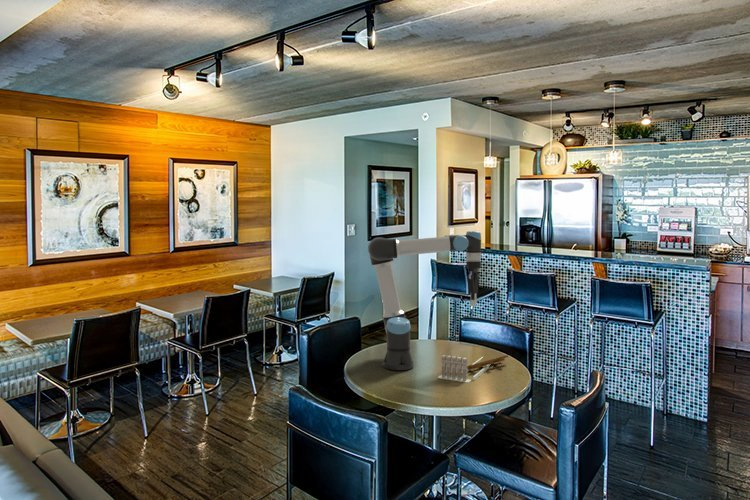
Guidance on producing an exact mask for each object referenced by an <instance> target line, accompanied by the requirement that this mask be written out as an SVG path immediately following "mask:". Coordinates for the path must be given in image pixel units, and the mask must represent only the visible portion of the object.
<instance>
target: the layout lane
mask: <svg viewBox="0 0 750 500" xmlns="http://www.w3.org/2000/svg"><path fill="white" fill-rule="evenodd" d="M483 357H484V356H481V357H480V358H478V360H476V361H475V362H472V364H471V365H473V364H477V363H480V362H481V361H482V360H483V359H484V358H483ZM482 358H483V359H482ZM481 359H482V360H481ZM490 365H491V364H489V365H485V366H483V368H482V369H480V370H479V371H478V372H477V373H475V374H474V375H473V376H472V381H475V380H477V379H478V378H479V377H481V376H482V374H484V373H485V372H486V371H487V370H488V369H489V368H490V367H491V366H492V365H491V366H490ZM489 366H490V367H489ZM470 371H471V370H469V368H467V373H469V372H470Z"/></svg>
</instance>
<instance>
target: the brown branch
mask: <svg viewBox="0 0 750 500" xmlns="http://www.w3.org/2000/svg"><path fill="white" fill-rule="evenodd" d="M507 358H509V355H508V354H507V355H504V356H499V357H496V358H492V359H489V360H484V361H479V362H478V363H477V364H473V363H472V364H473V365H472V364H470V365H467V368H469V370H470V371H471V370H475V369H478V368H481V367H485V366H486V365H489V364H492V365H493V364H495V363H498V362H499V363H500V362H504V361H505V360H506V359H507Z"/></svg>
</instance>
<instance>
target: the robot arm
mask: <svg viewBox="0 0 750 500" xmlns="http://www.w3.org/2000/svg"><path fill="white" fill-rule="evenodd" d="M465 250H466V253H465V255H466V256H465V257H466V258H465V259H466V264H465V265H466V266H465V267H466V269H469V272H468V274H467V279H468V280H467V281H468V294H470V306H471V307H477V294H478V293H479V281H480V280H479V279H480V273H479V271H478V270H479V269H482V261H481V259H482V256H483V255H482V233H481V232H480V231H477V230H475V231H471V230H470V231H466V234H456V235H455V234H447V235H444V236H438V237H426V238H414V239H413V238H412V239H403V240H398V238H385V237H381V236H379V237H375V238H373V239H371V240H370V242H369V243H368V246H367V251H368V253H369V259H370V263H371V267H373V268H375V273H376V278H377V283H378V287H379V292H380V296H381V301H382V305H383V310H384V314H383V315H382V319H383V324H384V331H385V334H386V351H385V355H384V358H383V362H382V364H383V366H382V367H383V368H385V369H387V370H391V371H392V370H393V371H406V370H411V369H413V368H414V365H415V363H414V361H415V360H414V359H413V356H412V351H411V321H410V320H409V319H407V317H406V312H405V311H404V310H403V309H402V308H401V304H400V299H399V294H398V289H397V284H396V280H395V276H394V270H393V266H392V265H393V262H394V259H398V258H399V257H400V256H410V255H422V254H434V253H446V252H447V253H448V252H464V251H465Z"/></svg>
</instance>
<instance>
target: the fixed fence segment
mask: <svg viewBox="0 0 750 500" xmlns="http://www.w3.org/2000/svg"><path fill="white" fill-rule="evenodd" d="M467 366H468V357H461V356H455V355H453V356H452V355H447V354H442V355H441V375H442V377H444V378H445V377H446V376H447V378H451V377H452V379H456V378H457V379H458V380H461V379H462V378H463V380H464V381H466V380H467V379H468V372H467Z"/></svg>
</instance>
